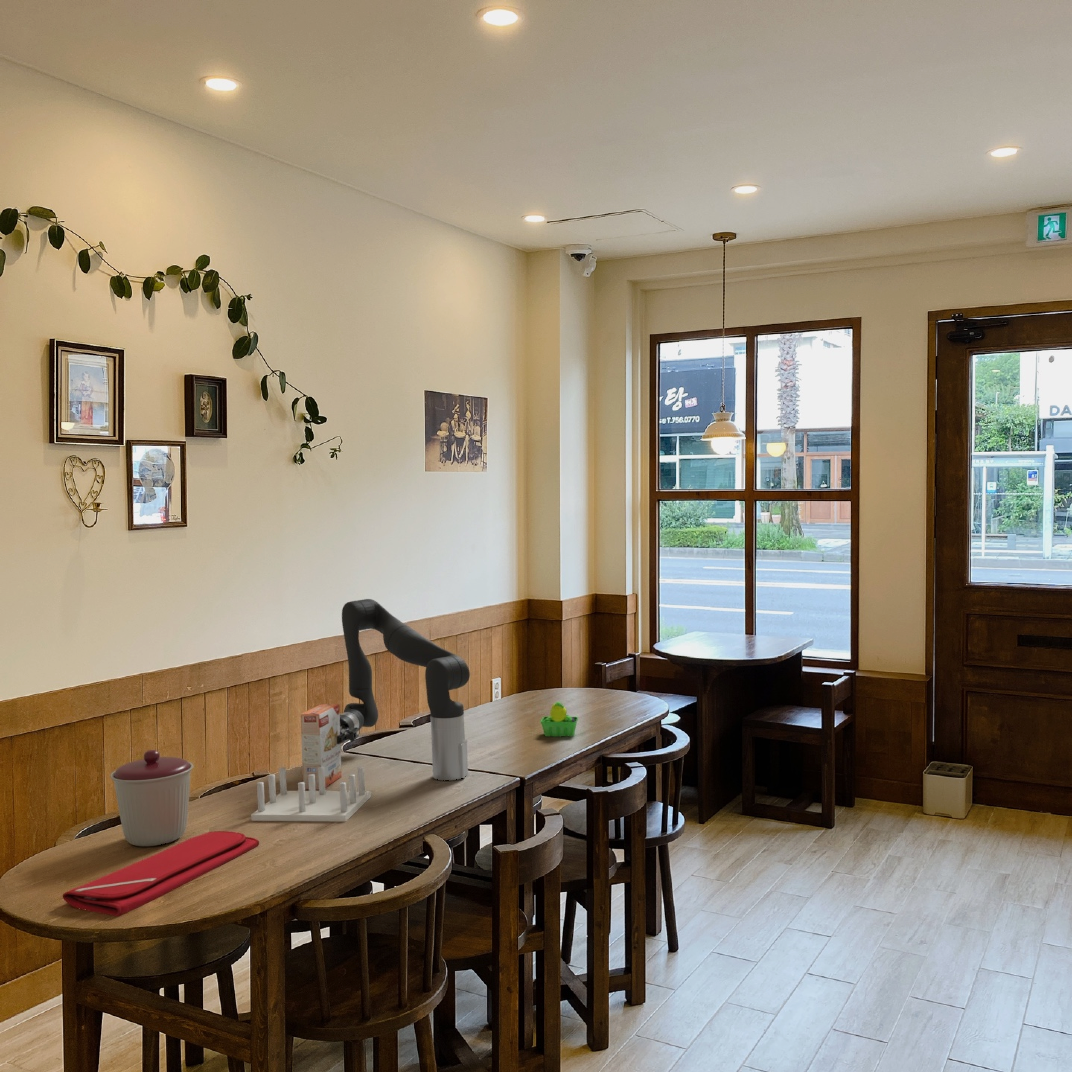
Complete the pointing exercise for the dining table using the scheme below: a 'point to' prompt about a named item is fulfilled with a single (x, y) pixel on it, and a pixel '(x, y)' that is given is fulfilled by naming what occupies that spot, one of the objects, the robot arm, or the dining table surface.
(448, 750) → the robot arm
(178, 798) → the canister
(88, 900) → the dish drying mat
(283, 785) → the dish rack
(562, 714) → the fruit basket
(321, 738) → the cracker box
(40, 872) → the dining table surface
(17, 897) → the dining table surface
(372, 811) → the dining table surface
